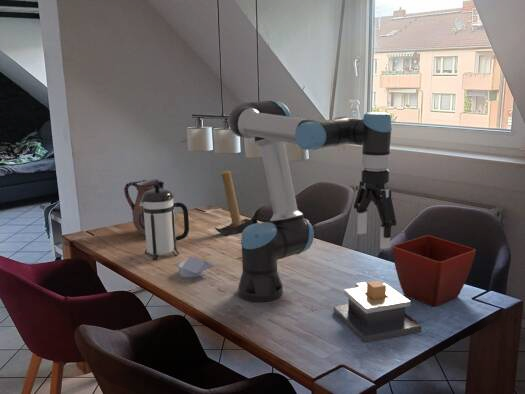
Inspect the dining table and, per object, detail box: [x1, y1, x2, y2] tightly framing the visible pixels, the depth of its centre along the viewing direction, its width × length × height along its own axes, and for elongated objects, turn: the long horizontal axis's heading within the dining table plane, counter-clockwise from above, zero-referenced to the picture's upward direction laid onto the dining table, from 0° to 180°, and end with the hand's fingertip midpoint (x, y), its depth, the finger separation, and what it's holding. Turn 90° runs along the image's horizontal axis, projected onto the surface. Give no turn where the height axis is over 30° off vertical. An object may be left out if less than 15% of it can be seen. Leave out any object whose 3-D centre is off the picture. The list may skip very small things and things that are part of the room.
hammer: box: [214, 170, 259, 237], centre depth 242 cm, size 20×5×30 cm, turn 121°
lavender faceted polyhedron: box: [178, 255, 215, 278], centre depth 196 cm, size 9×7×13 cm
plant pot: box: [391, 235, 477, 307], centre depth 171 cm, size 19×19×17 cm
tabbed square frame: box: [333, 281, 422, 343], centre depth 156 cm, size 18×20×8 cm
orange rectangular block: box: [366, 280, 386, 300], centre depth 155 cm, size 4×4×10 cm
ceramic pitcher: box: [123, 178, 165, 236], centre depth 245 cm, size 18×21×25 cm
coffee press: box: [139, 184, 190, 261], centre depth 216 cm, size 17×16×30 cm
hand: (372, 240), depth 152 cm, fingers open, 13 cm apart
